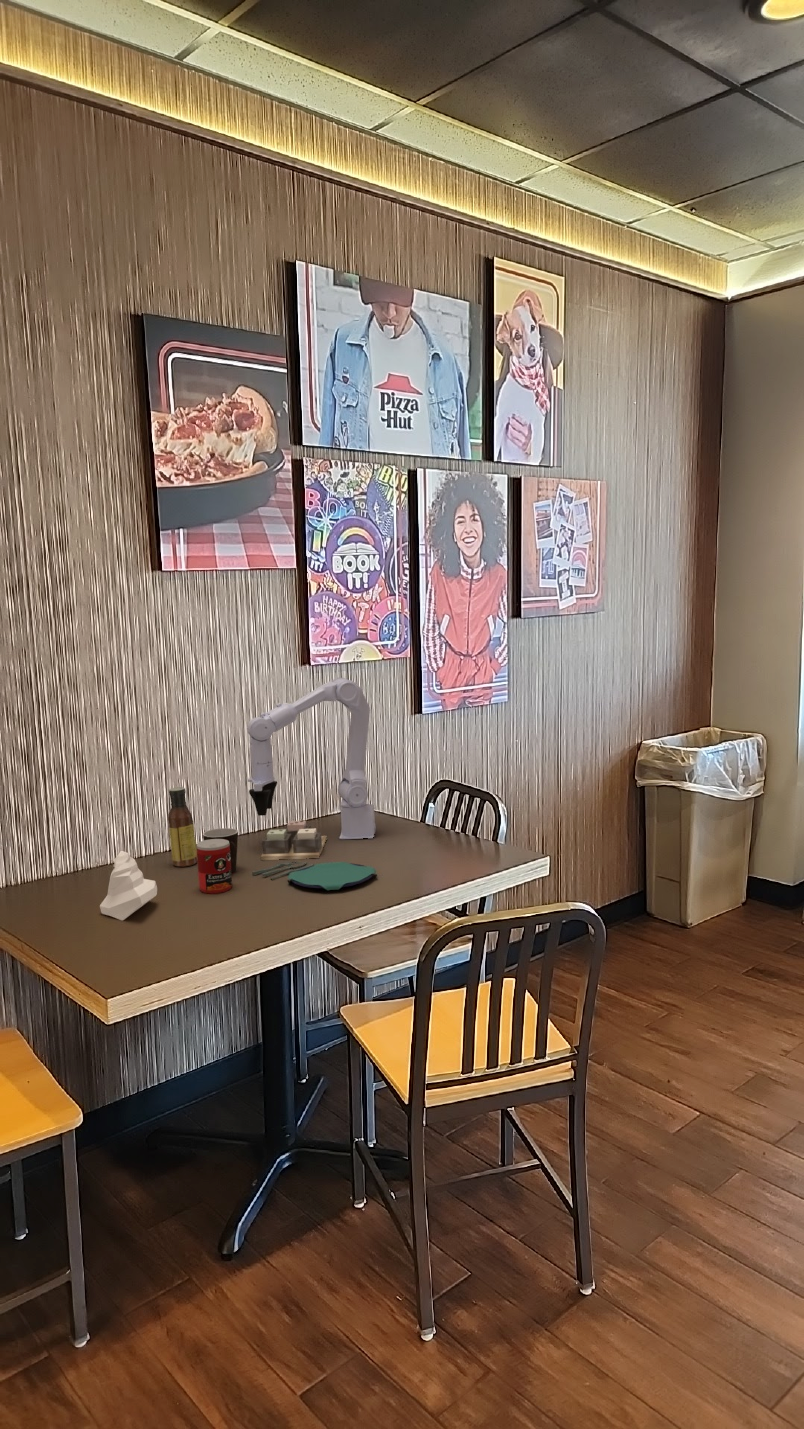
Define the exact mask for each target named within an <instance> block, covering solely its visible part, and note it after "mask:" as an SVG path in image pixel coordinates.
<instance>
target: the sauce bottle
mask: <svg viewBox="0 0 804 1429" xmlns="http://www.w3.org/2000/svg"><path fill="white" fill-rule="evenodd" d="M168 793H169V794H168V795H169V797H170V807H171V808H170V810H169V811H168V815H167V816H168V817H167V821H168V831H169V832H168V833H169V840H170V848H171V849H170V850H171V856H172V858H171V859H172V861H173V865H174V866H175V867H180V868H181V867H182V868H183V867H184V868H185V867H189V866H193V865H195V864H196V863H198V862H197V843H196V834H195V826H194V819H193V815H192V813H191V811H190V810H189V807H188V805H187V799H186V793H187V792H186V788H185V787H180V786H179V787H172V788H170V789H169V790H168Z"/></svg>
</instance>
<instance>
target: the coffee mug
mask: <svg viewBox="0 0 804 1429" xmlns="http://www.w3.org/2000/svg"><path fill="white" fill-rule="evenodd" d="M238 836H239V830H238V829H236V828H231V827H222V828H221V827H219V828H214V829H210V830H206V831H204V832H203V833H202V837H203V841H204V840H210V839H225V840H228V841H229V844H230V857H231V873H232V874H234V873H236V872H237V860H238V859H237V858H238V857H237V856H238V840H239V838H238Z"/></svg>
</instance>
